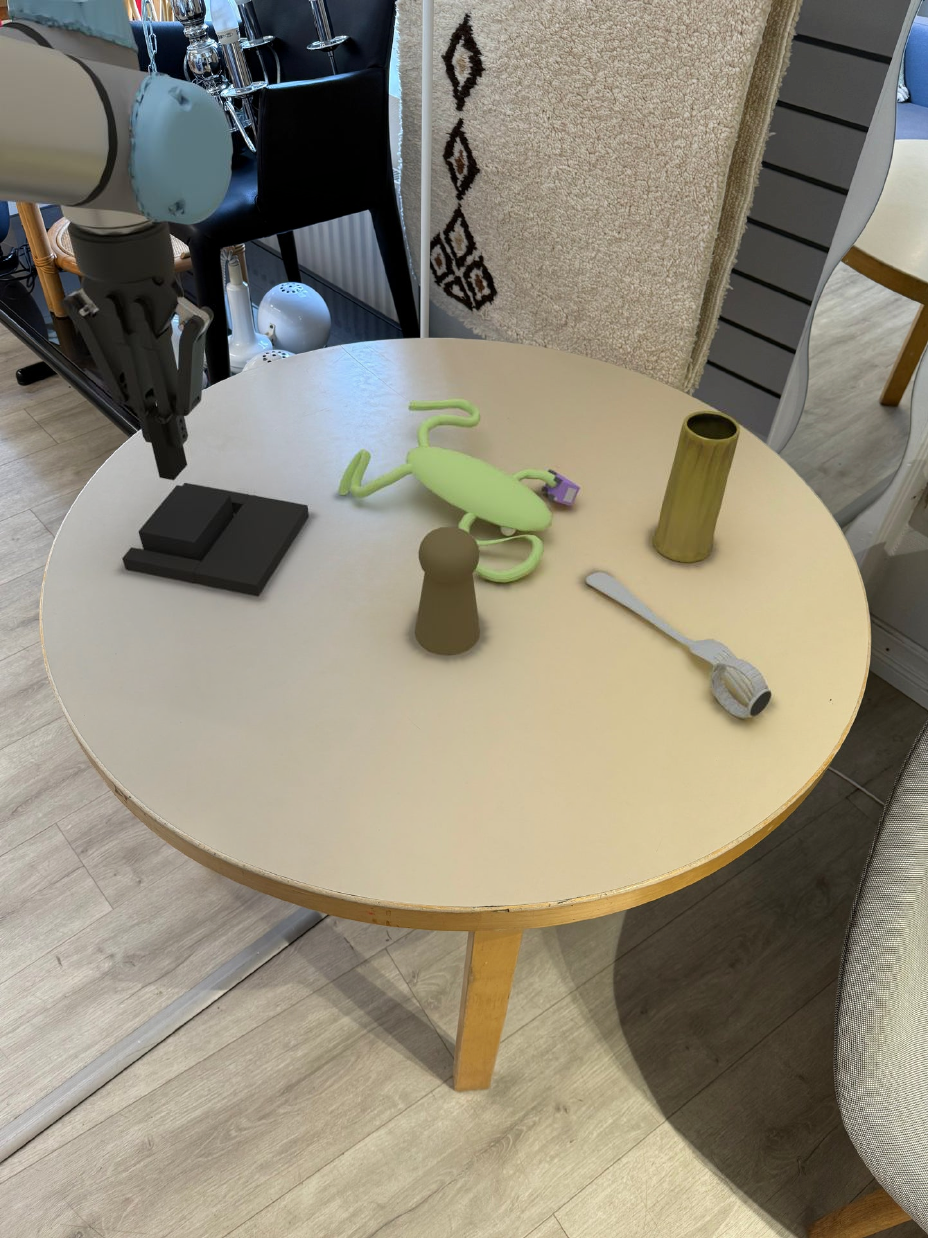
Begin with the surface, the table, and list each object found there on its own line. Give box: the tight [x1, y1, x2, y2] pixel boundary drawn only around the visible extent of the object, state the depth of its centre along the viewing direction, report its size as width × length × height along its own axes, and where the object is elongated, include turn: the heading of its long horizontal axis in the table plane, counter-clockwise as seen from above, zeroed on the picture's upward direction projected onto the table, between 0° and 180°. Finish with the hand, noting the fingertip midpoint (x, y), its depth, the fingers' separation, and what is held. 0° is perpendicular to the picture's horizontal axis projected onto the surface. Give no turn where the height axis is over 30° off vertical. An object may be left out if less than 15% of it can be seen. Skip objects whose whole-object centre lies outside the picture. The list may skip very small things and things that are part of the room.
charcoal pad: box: [138, 484, 235, 562], centre depth 91 cm, size 6×8×3 cm
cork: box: [414, 526, 481, 656], centre depth 80 cm, size 6×6×11 cm
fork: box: [585, 571, 754, 705], centre depth 84 cm, size 3×21×3 cm, turn 39°
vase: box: [652, 410, 741, 563], centre depth 89 cm, size 6×6×14 cm
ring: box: [709, 656, 772, 719], centre depth 76 cm, size 3×5×5 cm, turn 36°
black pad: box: [121, 482, 310, 597], centre depth 91 cm, size 14×13×2 cm
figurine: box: [338, 397, 581, 583], centre depth 96 cm, size 18×27×6 cm
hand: (173, 470), depth 86 cm, fingers closed
